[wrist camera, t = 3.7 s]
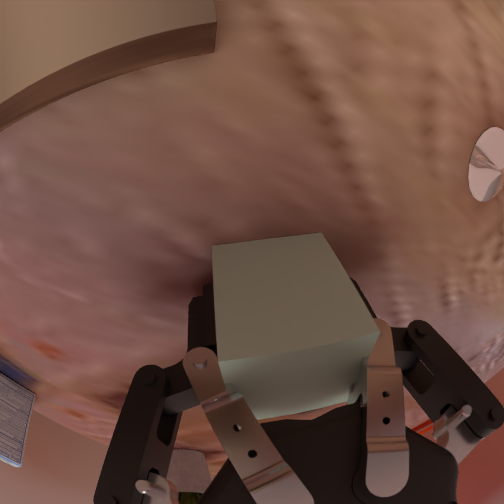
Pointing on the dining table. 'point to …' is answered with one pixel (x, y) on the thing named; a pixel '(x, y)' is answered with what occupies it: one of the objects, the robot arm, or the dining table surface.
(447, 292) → the dining table surface
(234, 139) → the dining table surface
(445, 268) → the dining table surface
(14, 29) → the walnut block
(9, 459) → the medicine box
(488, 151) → the wineglass
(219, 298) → the sage block
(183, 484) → the house plant
